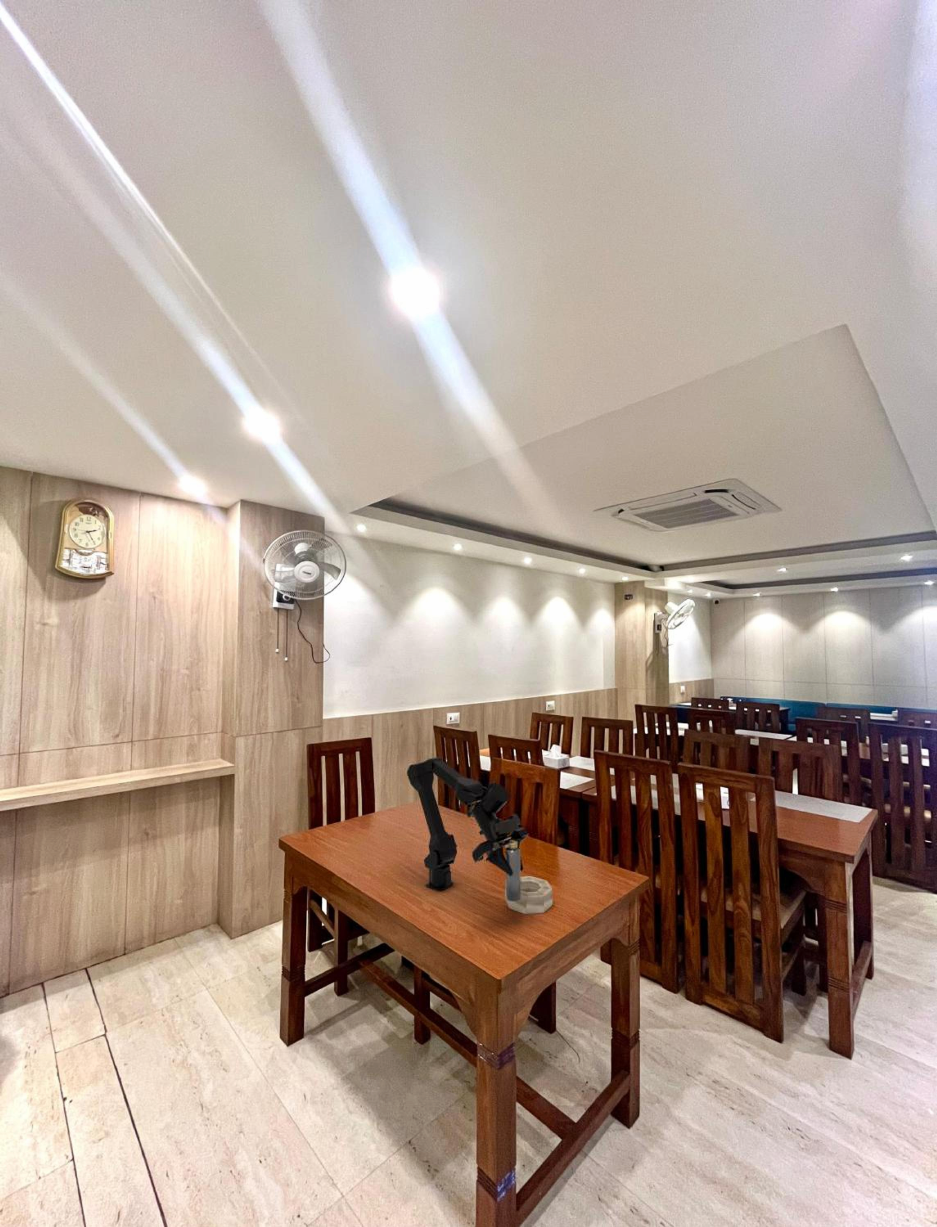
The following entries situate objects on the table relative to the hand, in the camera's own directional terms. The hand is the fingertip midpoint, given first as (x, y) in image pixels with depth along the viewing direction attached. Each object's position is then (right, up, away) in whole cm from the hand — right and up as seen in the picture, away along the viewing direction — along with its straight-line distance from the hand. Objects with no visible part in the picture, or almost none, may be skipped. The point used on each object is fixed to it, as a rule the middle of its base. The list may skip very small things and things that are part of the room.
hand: (517, 872), depth 138 cm
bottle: (-1, -7, 0) cm, 7 cm away
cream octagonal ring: (+5, -14, +11) cm, 18 cm away
